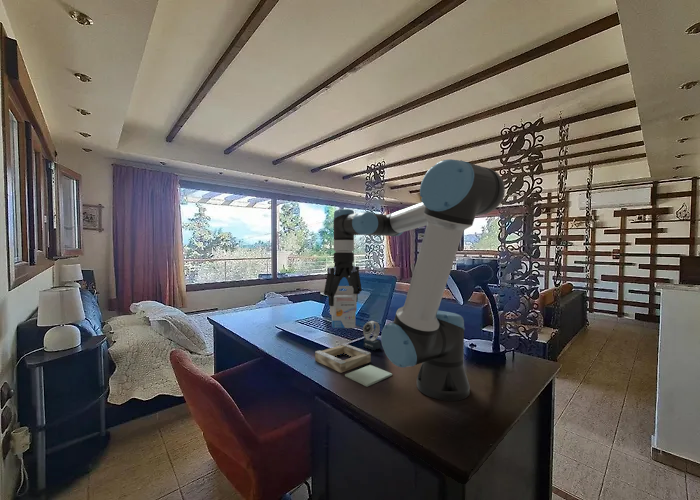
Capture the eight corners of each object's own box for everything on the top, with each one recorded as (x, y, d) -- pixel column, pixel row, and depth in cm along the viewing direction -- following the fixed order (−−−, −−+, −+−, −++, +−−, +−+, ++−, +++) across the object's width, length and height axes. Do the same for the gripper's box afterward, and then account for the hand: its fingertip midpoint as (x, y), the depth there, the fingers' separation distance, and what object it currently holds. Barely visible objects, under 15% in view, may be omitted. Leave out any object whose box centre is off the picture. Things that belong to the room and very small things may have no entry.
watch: (360, 348, 126) (360, 322, 126) (372, 344, 131) (373, 318, 131) (370, 351, 122) (370, 324, 122) (383, 347, 127) (383, 321, 127)
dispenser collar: (370, 361, 111) (370, 352, 111) (341, 372, 101) (341, 362, 101) (344, 351, 122) (344, 343, 122) (315, 360, 112) (315, 351, 112)
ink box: (332, 328, 108) (332, 287, 108) (331, 325, 113) (331, 286, 113) (355, 328, 109) (356, 287, 109) (353, 324, 114) (353, 285, 114)
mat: (392, 375, 100) (392, 373, 100) (367, 386, 91) (367, 384, 91) (370, 366, 107) (370, 364, 107) (344, 376, 99) (344, 374, 99)
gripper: (357, 251, 121) (357, 307, 121) (313, 251, 106) (313, 315, 106) (371, 251, 116) (371, 310, 116) (326, 252, 101) (326, 319, 101)
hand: (343, 312), depth 111 cm, fingers closed on ink box, 9 cm apart
